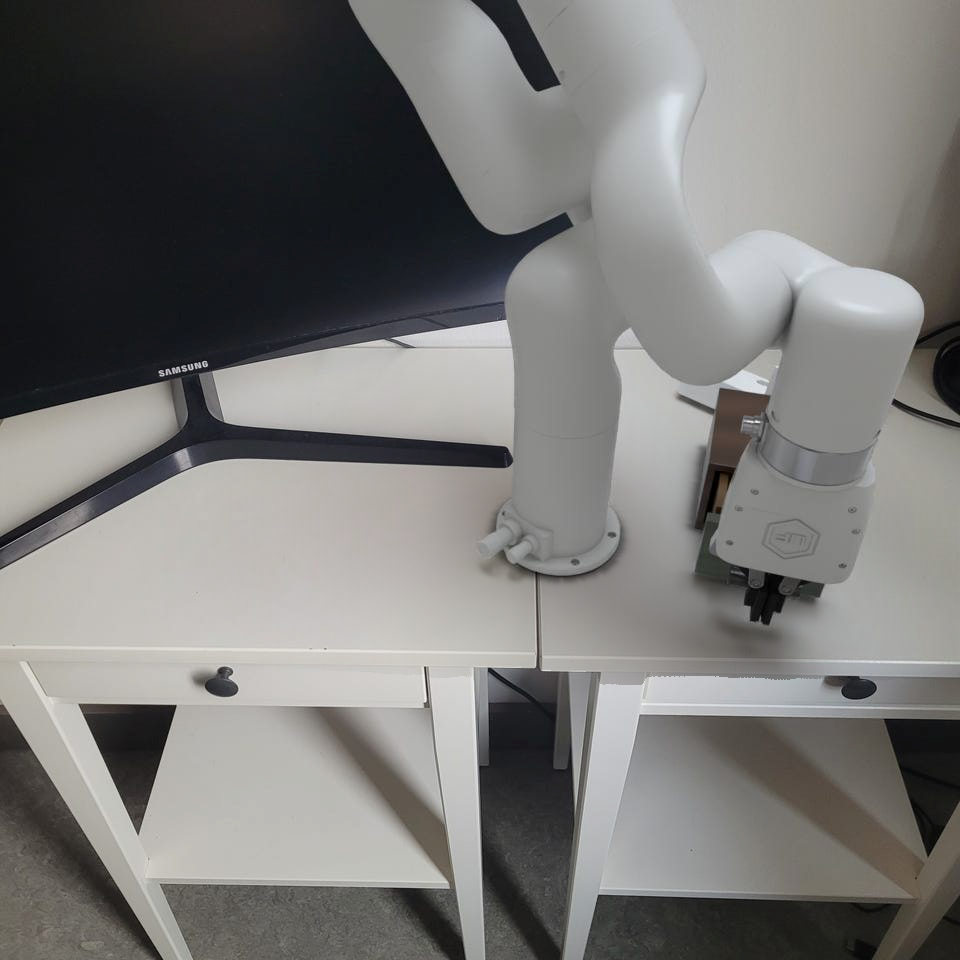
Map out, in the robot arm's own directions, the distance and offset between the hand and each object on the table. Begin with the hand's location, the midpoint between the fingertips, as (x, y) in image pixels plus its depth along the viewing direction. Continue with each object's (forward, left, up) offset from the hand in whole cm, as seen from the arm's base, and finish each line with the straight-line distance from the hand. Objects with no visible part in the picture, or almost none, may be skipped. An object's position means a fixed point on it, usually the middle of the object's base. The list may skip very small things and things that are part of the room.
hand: (759, 611), depth 70 cm
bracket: (+31, +21, -4) cm, 38 cm away
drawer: (+9, +5, -3) cm, 11 cm away
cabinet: (+18, +10, -4) cm, 21 cm away
